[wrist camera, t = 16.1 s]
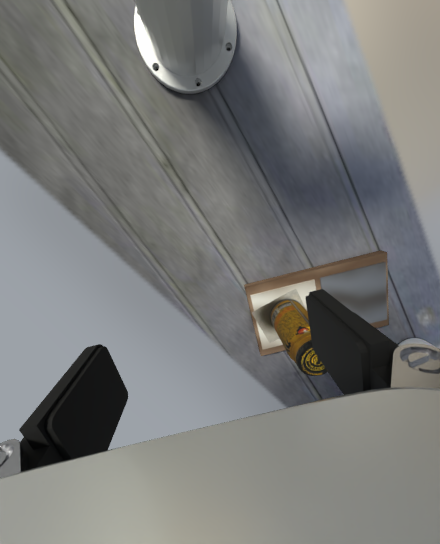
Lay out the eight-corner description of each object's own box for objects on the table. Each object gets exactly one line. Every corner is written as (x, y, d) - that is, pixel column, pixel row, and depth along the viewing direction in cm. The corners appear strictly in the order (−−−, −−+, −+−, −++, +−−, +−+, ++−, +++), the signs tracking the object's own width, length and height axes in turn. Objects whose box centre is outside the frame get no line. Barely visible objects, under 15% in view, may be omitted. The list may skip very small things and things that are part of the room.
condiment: (311, 320, 41) (352, 367, 29) (269, 342, 42) (292, 396, 30) (295, 287, 39) (332, 324, 27) (250, 311, 40) (268, 356, 28)
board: (244, 284, 40) (245, 288, 38) (380, 250, 40) (388, 252, 38) (259, 350, 44) (261, 357, 43) (382, 320, 44) (390, 325, 42)
